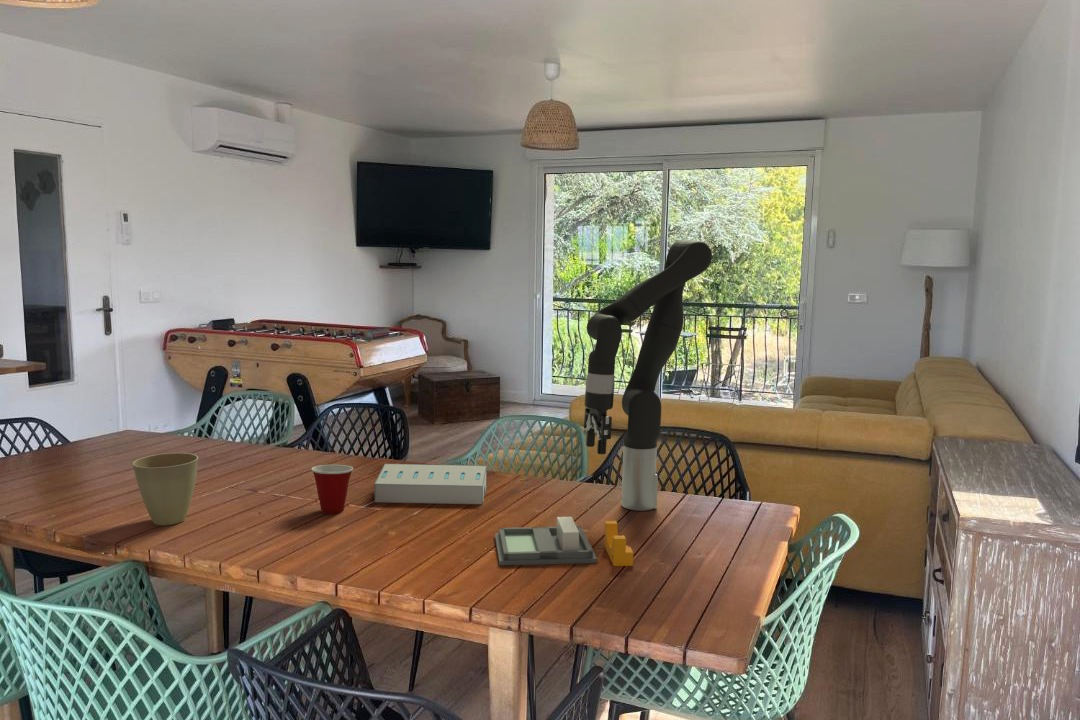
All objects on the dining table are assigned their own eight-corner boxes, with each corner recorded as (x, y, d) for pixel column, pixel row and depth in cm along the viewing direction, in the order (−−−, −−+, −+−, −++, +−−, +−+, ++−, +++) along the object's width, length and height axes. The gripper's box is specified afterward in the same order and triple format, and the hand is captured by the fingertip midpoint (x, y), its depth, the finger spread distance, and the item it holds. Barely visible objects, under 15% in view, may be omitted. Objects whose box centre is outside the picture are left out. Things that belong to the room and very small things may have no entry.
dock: (583, 535, 195) (584, 511, 194) (597, 562, 177) (597, 537, 176) (495, 537, 192) (495, 513, 191) (499, 565, 174) (499, 539, 174)
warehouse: (374, 503, 218) (374, 477, 217) (385, 488, 232) (384, 463, 231) (482, 505, 218) (482, 479, 217) (486, 490, 232) (486, 465, 231)
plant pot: (187, 507, 210) (185, 449, 208) (210, 521, 199) (207, 460, 197) (127, 520, 200) (124, 458, 198) (147, 535, 189) (144, 470, 187)
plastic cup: (361, 506, 213) (361, 463, 212) (339, 519, 203) (339, 474, 202) (326, 502, 217) (326, 460, 215) (303, 514, 206) (302, 469, 205)
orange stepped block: (632, 566, 176) (633, 538, 175) (613, 566, 175) (614, 538, 175) (622, 546, 188) (623, 520, 187) (604, 547, 187) (605, 521, 186)
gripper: (623, 394, 202) (618, 456, 204) (603, 386, 215) (599, 443, 217) (595, 394, 199) (591, 456, 201) (577, 385, 213) (573, 444, 215)
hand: (595, 450), depth 209 cm, fingers open, 8 cm apart
